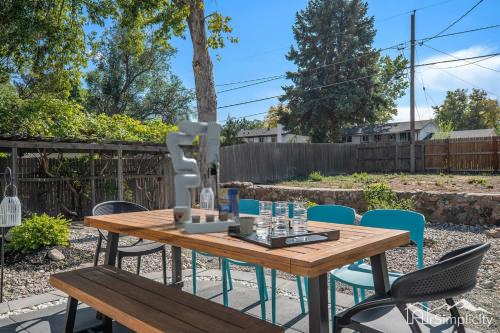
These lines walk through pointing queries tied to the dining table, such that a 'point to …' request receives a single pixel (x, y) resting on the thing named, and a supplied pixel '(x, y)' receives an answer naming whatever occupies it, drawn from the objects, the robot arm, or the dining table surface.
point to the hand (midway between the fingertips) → (213, 175)
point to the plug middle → (210, 218)
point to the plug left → (195, 219)
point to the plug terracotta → (223, 216)
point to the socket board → (208, 226)
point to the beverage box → (229, 203)
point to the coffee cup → (180, 216)
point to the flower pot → (246, 225)
